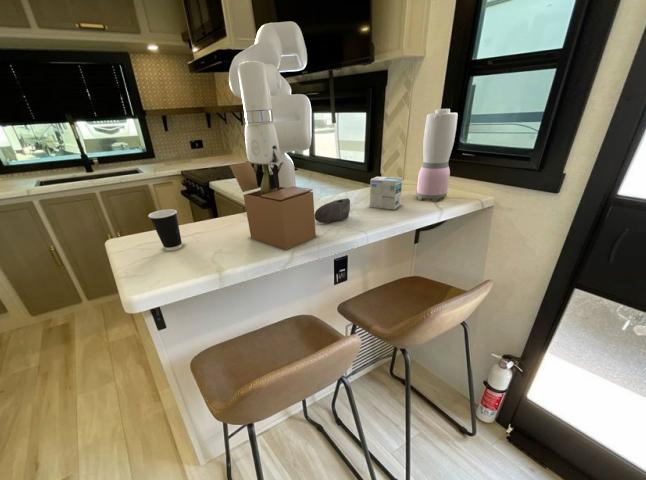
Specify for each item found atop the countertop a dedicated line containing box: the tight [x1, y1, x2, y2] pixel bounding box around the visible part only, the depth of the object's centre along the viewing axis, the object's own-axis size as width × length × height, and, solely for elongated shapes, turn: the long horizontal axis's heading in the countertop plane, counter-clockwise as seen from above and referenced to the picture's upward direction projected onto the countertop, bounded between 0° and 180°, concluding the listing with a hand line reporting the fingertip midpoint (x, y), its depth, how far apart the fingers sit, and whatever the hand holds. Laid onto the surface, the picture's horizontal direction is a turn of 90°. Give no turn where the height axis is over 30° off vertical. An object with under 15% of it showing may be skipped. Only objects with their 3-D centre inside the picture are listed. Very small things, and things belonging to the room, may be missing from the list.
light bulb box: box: [369, 176, 403, 210], centre depth 121 cm, size 11×7×11 cm, turn 58°
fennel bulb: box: [260, 164, 277, 194], centre depth 93 cm, size 6×5×12 cm
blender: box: [415, 108, 459, 202], centre depth 124 cm, size 16×12×32 cm
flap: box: [229, 161, 264, 193], centre depth 97 cm, size 8×13×1 cm
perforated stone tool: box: [314, 197, 351, 224], centre depth 110 cm, size 15×5×7 cm, turn 116°
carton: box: [242, 186, 317, 251], centre depth 96 cm, size 17×13×15 cm
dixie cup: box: [147, 208, 183, 251], centre depth 95 cm, size 8×8×11 cm
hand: (268, 186), depth 94 cm, fingers closed on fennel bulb, 5 cm apart
